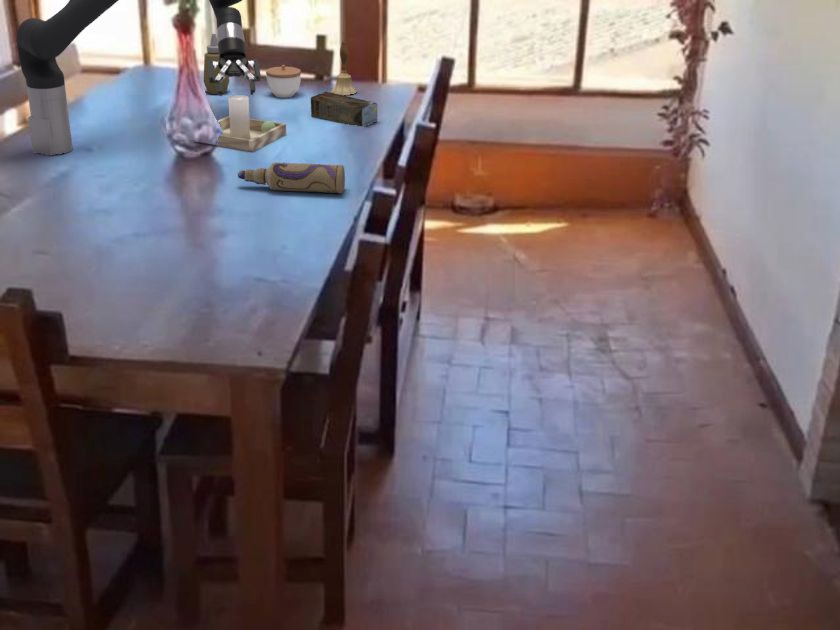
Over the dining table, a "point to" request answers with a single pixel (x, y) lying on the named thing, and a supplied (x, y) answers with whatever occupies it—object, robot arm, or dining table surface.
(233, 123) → the white dome-topped cylinder
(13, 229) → the dining table surface
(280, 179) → the decorative bottle
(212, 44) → the squeeze bottle
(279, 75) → the lidded jar
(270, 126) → the green ball
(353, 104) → the beverage carton
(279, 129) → the tray
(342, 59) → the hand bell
